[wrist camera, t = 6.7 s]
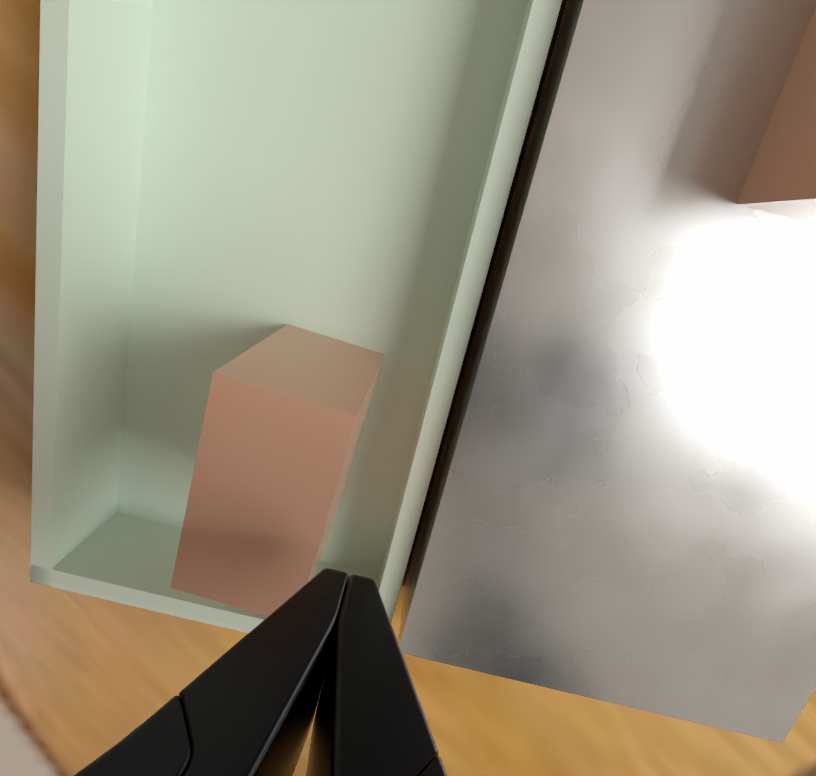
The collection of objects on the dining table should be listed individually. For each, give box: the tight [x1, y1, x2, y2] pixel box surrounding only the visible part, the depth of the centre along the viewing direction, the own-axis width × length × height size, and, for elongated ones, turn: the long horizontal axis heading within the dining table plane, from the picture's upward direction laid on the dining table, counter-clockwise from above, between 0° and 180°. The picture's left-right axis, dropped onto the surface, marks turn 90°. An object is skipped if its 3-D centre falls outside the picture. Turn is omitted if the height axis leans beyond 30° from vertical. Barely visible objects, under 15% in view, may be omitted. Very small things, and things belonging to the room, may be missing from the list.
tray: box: [30, 0, 562, 633], centre depth 11 cm, size 18×9×3 cm, turn 167°
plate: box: [398, 0, 816, 743], centre depth 12 cm, size 18×10×2 cm, turn 167°
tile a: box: [170, 324, 384, 616], centre depth 12 cm, size 4×4×2 cm
